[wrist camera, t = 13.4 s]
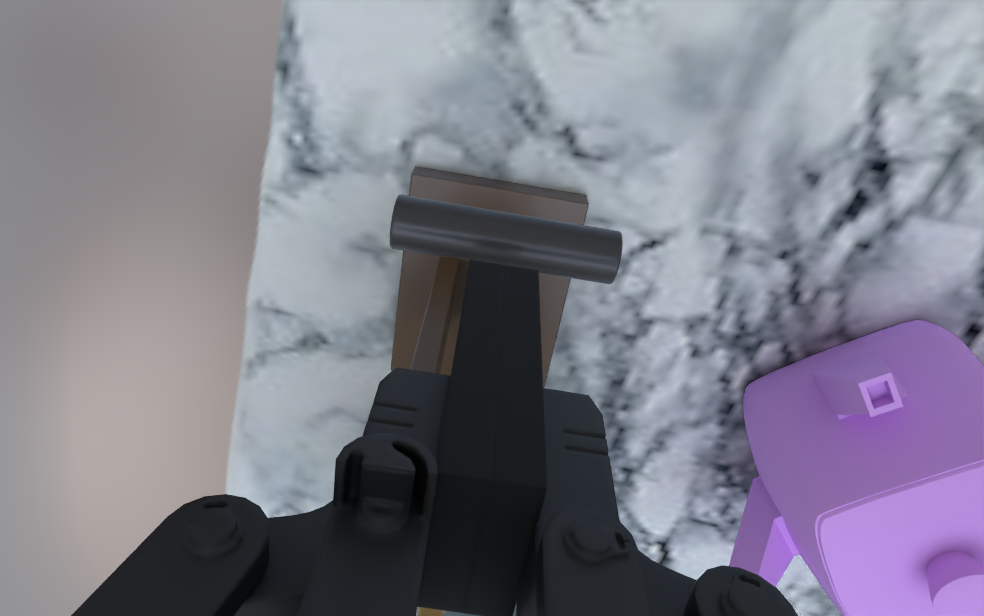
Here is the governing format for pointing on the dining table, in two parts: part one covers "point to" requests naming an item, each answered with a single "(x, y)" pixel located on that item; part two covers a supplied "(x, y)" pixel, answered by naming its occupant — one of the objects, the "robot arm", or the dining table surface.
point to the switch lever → (505, 239)
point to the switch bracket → (441, 281)
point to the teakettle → (872, 473)
